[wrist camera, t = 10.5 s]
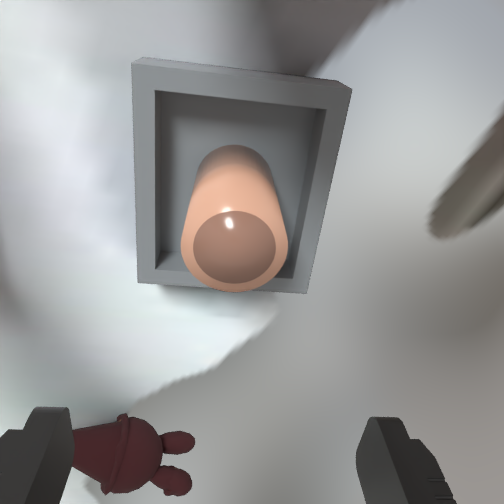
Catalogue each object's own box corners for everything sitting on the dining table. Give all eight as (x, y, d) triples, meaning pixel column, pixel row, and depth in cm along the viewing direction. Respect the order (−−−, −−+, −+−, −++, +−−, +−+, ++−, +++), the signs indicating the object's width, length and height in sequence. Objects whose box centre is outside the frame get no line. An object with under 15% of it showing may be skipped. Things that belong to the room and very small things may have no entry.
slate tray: (143, 57, 24) (131, 63, 21) (337, 80, 26) (352, 89, 23) (146, 256, 31) (137, 282, 28) (299, 267, 32) (306, 293, 29)
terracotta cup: (198, 139, 26) (183, 193, 18) (278, 149, 26) (297, 206, 19) (193, 213, 29) (177, 288, 21) (266, 221, 29) (278, 297, 21)
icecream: (12, 496, 35) (176, 512, 40) (22, 471, 31) (206, 493, 36) (40, 416, 40) (183, 440, 45) (52, 384, 36) (210, 415, 41)
